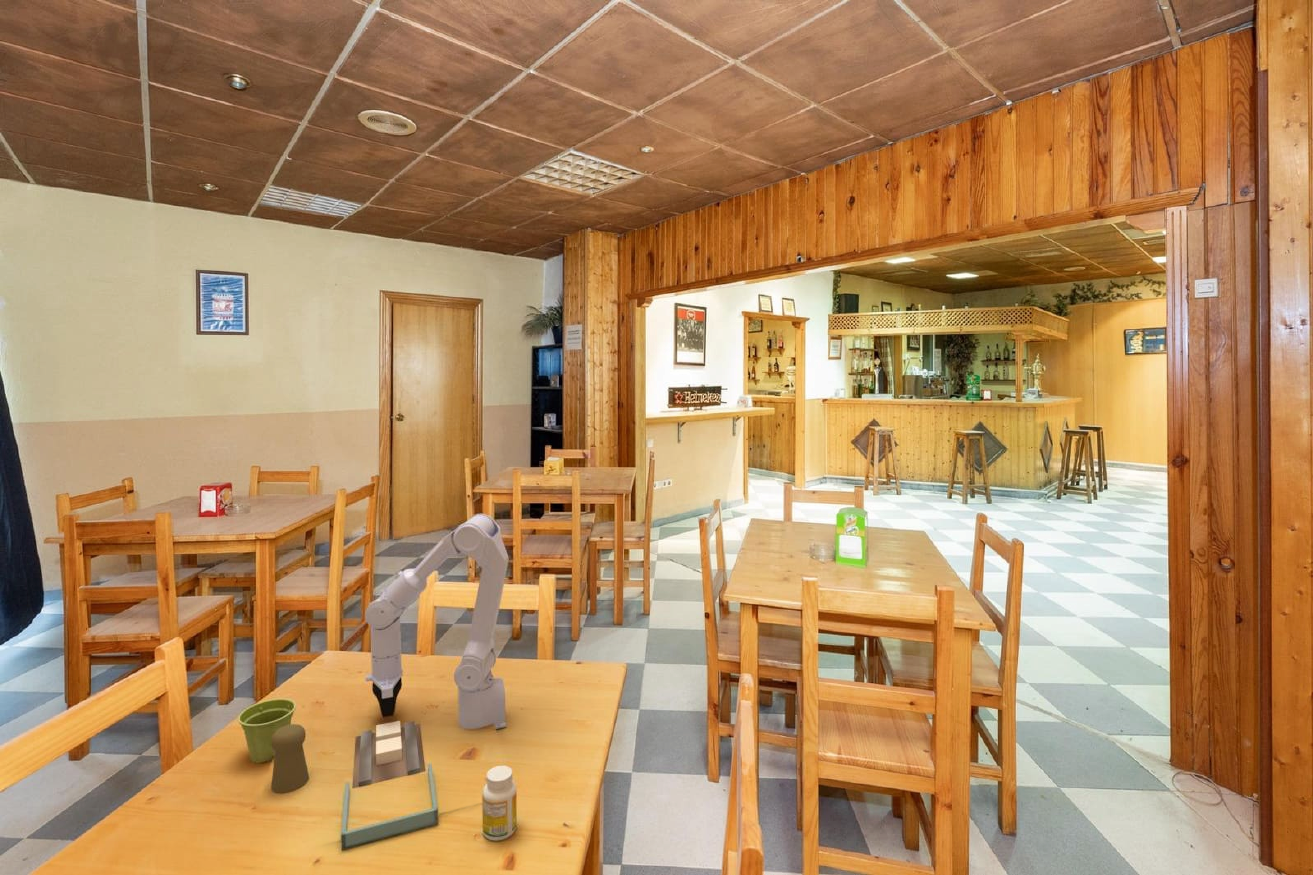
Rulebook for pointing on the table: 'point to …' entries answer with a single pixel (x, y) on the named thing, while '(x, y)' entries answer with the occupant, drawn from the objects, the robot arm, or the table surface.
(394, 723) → the chip
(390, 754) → the chip
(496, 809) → the supplement bottle
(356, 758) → the slot board
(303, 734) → the cork
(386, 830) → the tray
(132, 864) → the table surface
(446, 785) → the table surface
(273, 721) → the plant pot
